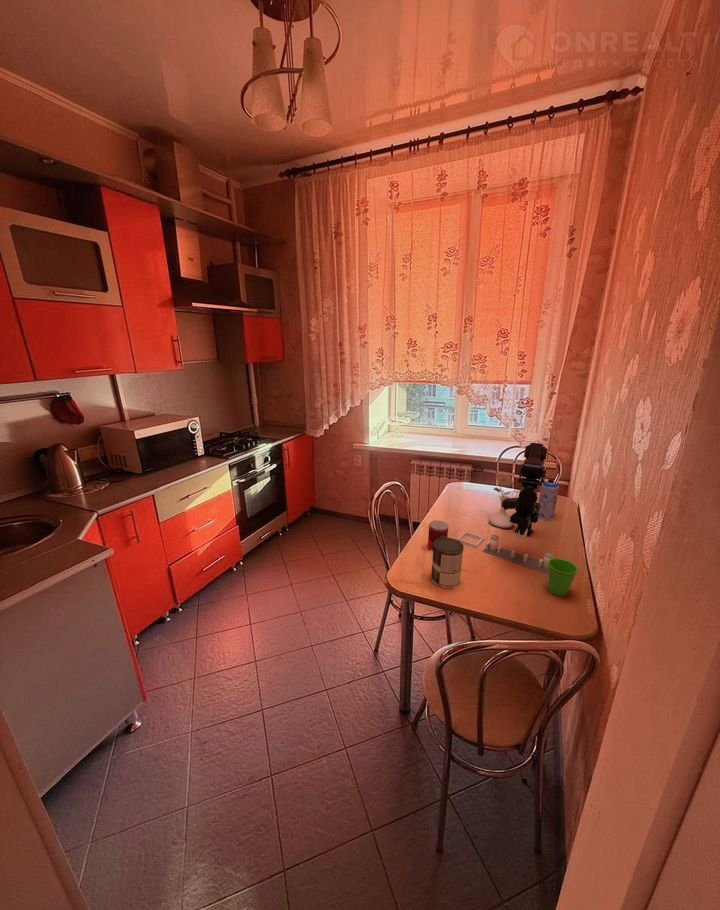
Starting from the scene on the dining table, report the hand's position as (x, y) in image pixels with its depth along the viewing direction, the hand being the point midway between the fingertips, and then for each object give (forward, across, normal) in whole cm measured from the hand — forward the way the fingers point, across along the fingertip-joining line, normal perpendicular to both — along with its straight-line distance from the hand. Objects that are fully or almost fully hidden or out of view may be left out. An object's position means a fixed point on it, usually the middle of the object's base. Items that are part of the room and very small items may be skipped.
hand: (522, 533), depth 137 cm
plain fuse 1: (+11, 0, -10) cm, 15 cm away
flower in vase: (+12, -27, -16) cm, 34 cm away
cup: (+12, +12, +16) cm, 23 cm away
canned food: (+12, +12, -29) cm, 34 cm away
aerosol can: (+12, -48, -1) cm, 50 cm away
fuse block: (+12, 0, 0) cm, 12 cm away
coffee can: (+12, +29, -17) cm, 36 cm away
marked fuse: (+1, 0, 0) cm, 1 cm away
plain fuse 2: (+11, 0, +10) cm, 15 cm away
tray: (+12, -1, -20) cm, 23 cm away
